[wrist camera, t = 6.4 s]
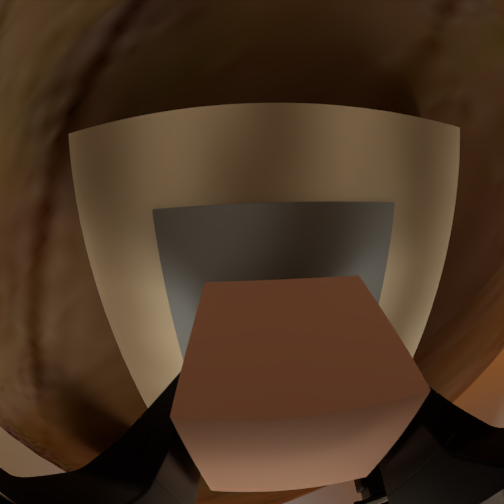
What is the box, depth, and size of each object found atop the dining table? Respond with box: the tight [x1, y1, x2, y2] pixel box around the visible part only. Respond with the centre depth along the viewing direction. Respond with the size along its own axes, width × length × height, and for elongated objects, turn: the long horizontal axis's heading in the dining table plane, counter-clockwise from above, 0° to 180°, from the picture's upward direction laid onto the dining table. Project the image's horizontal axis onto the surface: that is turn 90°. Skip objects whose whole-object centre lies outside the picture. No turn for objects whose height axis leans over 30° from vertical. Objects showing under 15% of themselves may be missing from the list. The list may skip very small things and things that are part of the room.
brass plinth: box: [69, 103, 460, 408], centre depth 13 cm, size 16×16×3 cm
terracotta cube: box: [170, 275, 431, 492], centre depth 7 cm, size 5×5×5 cm
